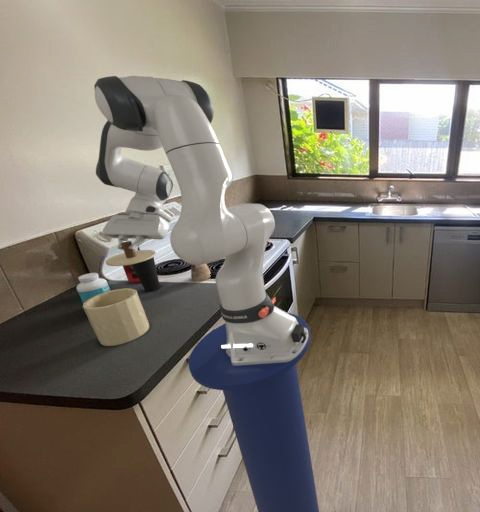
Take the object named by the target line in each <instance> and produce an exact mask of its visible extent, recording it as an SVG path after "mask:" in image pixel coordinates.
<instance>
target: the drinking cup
mask: <svg viewBox="0 0 480 512" xmlns="http://www.w3.org/2000/svg"><path fill="white" fill-rule="evenodd" d="M137 250H141V249H140V246H139V247H138V249H137ZM137 250H136V251H137ZM132 266H133V268H134V270H135V272H136V274H137V276H138V278H139V280H140V282H141V283H140V284H141V286H142V288H143V289H144V292H147V293H150V292H154V291H157V290H159V289H160V288H161V284H160V280H159V274H158V271H157V267H156V262H155V256H154V257H152V258H151V259H148V260H146V261H143V262H139V263H136V264H132Z"/></svg>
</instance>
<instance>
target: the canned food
mask: <svg viewBox="0 0 480 512" xmlns="http://www.w3.org/2000/svg"><path fill="white" fill-rule="evenodd" d="M122 268H123V272H124V273H125V276H126V278H127V281H128V283H130V284H141V282H140V280H139V278H138V276H137V274H136V272H135V270H134V268H133V266H132V264H131V265H124V266H122Z"/></svg>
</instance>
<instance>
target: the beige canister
mask: <svg viewBox="0 0 480 512" xmlns="http://www.w3.org/2000/svg"><path fill="white" fill-rule="evenodd" d="M82 304H83V303H82ZM82 308H83V311H84V312H85V315H86V317H87V319H88V321H89V323H90V326H91V327H92V330H93V332H94V333H95V336H96V338H97V341H98V342H99V343H100V345H102V346H105V347H113V346H120V345H123V344H127V343H130V342H131V341H134V340H136V339H138V338H140V337H141V336H143V335H144V334H146V333H147V332H148V331H149V329H150V323H149V320H148V317H147V315H146V311H145V309H144V307H143V303H142V301H141V299H140V297H139V293H138V290H137V289H134V288H126V287H125V288H117V289H113V290H111V291H108V292H105V293H102V294H99V295H96V296H94V297H92V298H90V299H89V300H87V301H86V302H85V303H84V304H83V305H82Z"/></svg>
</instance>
